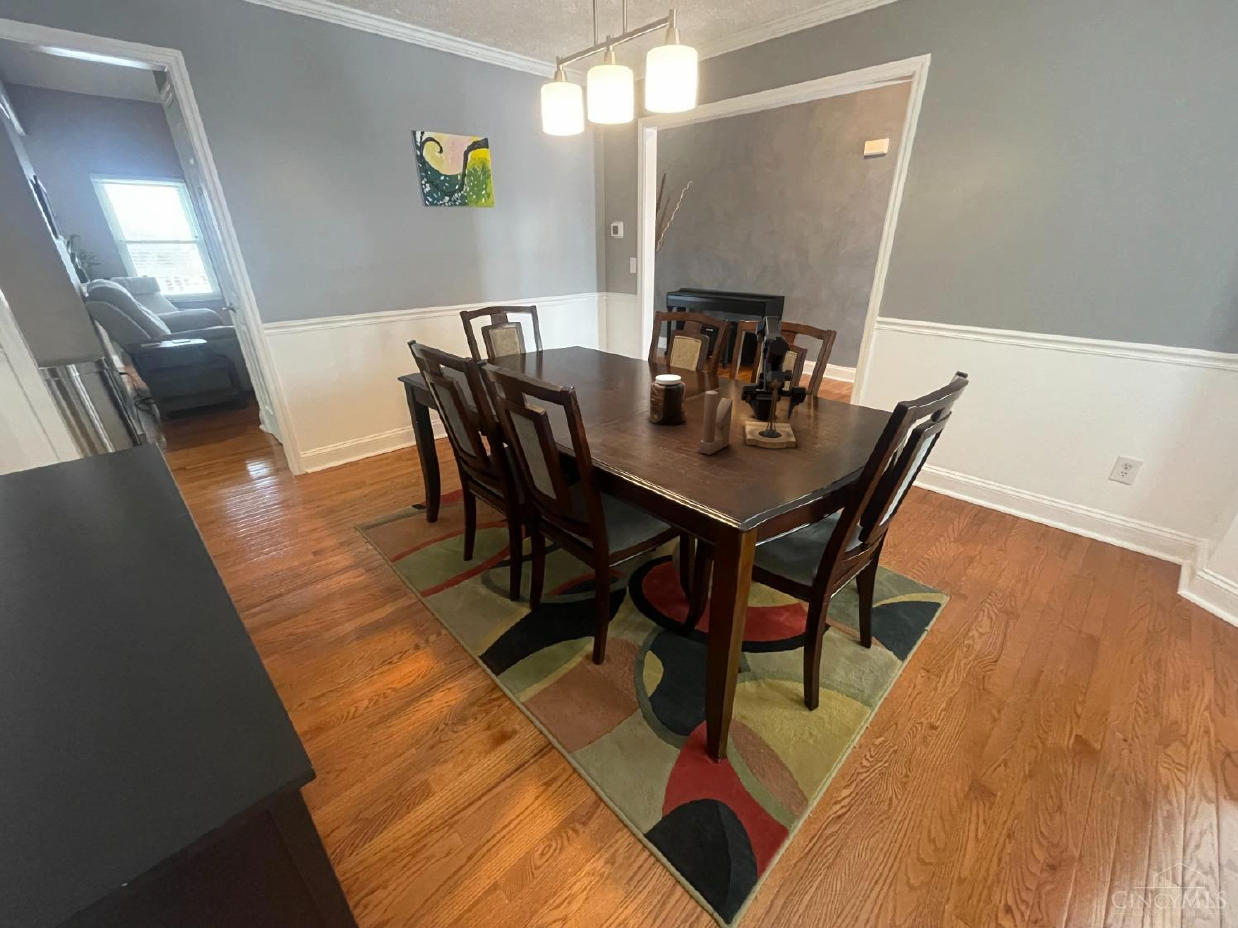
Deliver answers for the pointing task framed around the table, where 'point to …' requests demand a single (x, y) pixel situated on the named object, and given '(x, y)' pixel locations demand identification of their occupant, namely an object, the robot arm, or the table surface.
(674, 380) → the jar
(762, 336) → the robot arm
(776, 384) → the wooden tabletop sculpture
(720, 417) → the beige post stand
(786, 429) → the wooden board with hole
